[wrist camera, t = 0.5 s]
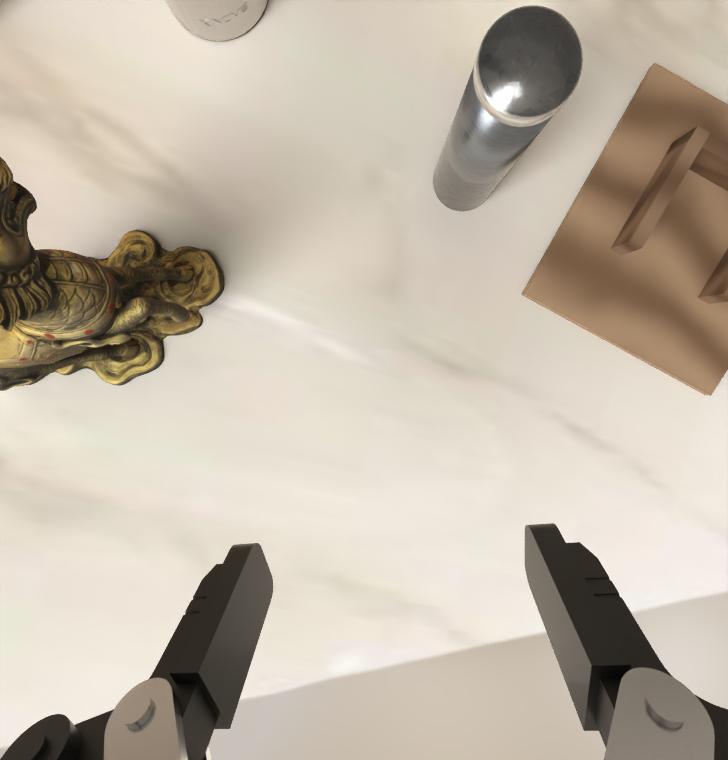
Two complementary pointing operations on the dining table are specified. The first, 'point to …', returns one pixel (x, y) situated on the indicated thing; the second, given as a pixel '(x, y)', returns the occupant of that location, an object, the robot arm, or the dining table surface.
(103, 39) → the dining table surface
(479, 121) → the graphite canister
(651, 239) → the walnut bracket
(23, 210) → the figurine
